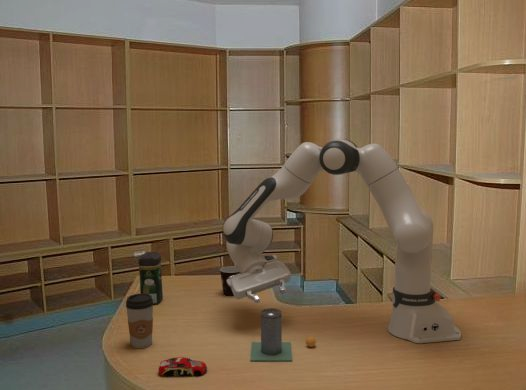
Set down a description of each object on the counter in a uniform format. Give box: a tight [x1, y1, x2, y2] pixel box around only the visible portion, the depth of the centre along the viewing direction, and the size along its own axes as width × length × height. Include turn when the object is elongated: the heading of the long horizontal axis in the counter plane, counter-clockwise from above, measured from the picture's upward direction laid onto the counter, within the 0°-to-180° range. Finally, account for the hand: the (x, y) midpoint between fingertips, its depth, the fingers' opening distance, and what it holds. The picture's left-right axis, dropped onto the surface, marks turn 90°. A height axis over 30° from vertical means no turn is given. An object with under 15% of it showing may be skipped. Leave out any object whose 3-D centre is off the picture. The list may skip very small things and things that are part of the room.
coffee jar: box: [138, 251, 164, 305], centre depth 205 cm, size 10×8×19 cm
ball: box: [305, 336, 317, 348], centre depth 166 cm, size 3×3×3 cm
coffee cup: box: [125, 293, 155, 349], centre depth 167 cm, size 8×8×15 cm
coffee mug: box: [219, 265, 240, 297], centre depth 214 cm, size 12×9×10 cm
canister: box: [260, 307, 283, 355], centre depth 161 cm, size 6×6×12 cm
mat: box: [249, 341, 293, 363], centre depth 162 cm, size 12×12×1 cm
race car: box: [158, 356, 208, 378], centre depth 150 cm, size 13×5×4 cm, turn 90°
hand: (271, 296), depth 174 cm, fingers open, 8 cm apart
